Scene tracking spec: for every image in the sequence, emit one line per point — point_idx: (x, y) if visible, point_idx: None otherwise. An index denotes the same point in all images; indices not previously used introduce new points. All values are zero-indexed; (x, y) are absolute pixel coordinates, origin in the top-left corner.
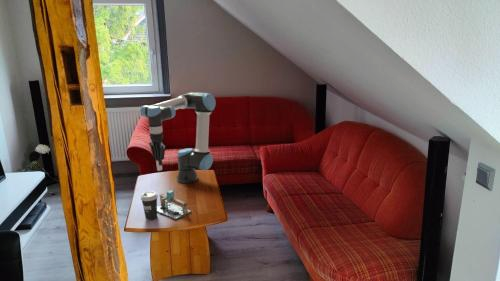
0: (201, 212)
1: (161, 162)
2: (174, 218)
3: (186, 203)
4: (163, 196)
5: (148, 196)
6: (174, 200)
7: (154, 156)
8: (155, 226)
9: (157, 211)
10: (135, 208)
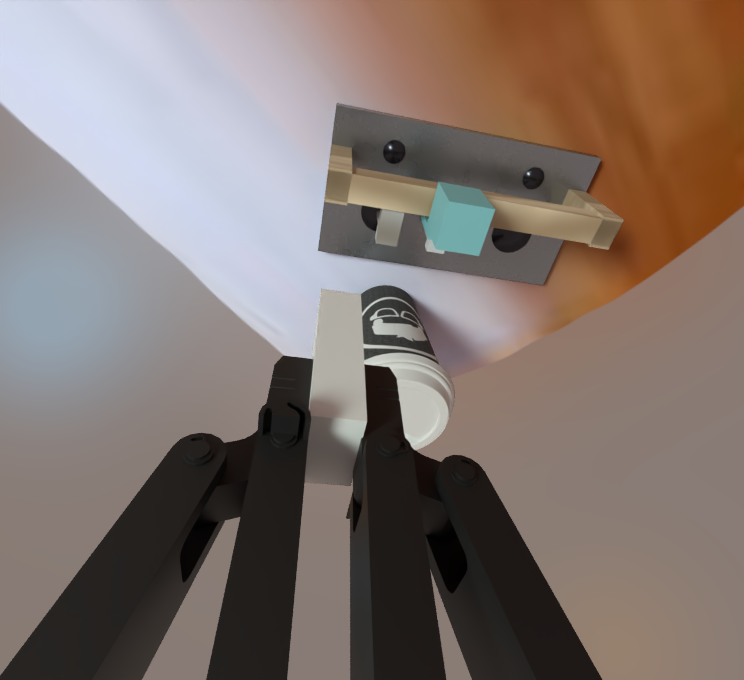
0: (673, 122)
1: (397, 415)
2: (529, 282)
3: (618, 223)
4: (370, 205)
5: (415, 435)
6: (505, 229)
7: (214, 534)
8: (464, 364)
9: (374, 257)
10: (201, 272)
